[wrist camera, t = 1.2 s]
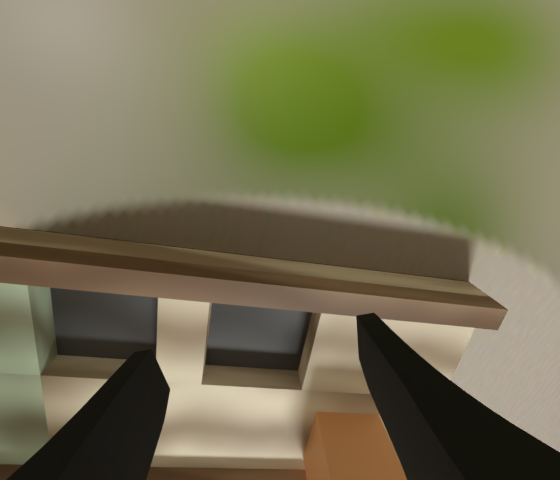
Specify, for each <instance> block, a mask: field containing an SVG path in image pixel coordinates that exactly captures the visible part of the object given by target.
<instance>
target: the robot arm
mask: <svg viewBox="0 0 560 480" xmlns="http://www.w3.org/2000/svg"><path fill="white" fill-rule="evenodd" d="M356 321H357V337H358V354H359V361H360V364H361V367H362V371H363V374H364V377H365V380H366V383H367V386H368V389H369V391H370V394H371V396H372V398H373V401H374V403H375V405H376V407H377V410H378V412H379V414H380V417H381V419H382V421H383V424H384V426H385V428H386V430H387V433H388V435H389V437H390V440H391V442H392V444H393V446H394V449H395V451H396V453H397V456H398V458H399V460H400V463H401V465H402V468H403V470H404V473H405V476H406V478H407V480H560V452H558V451H556V450H555V449H553V448H551V447H550V446H548V445H546V444H545V443H543V442H542V441H540V440H538V439H537V438H535V437H533V436H532V435H530V434H528V433H527V432H525V431H523V430H522V429H520V428H518V427H517V426H515V425H514V424H512V423H510V422H509V421H507V420H506V419H504V418H503V417H501V416H500V415H498V414H497V413H495V412H494V411H492V410H491V409H489V408H488V407H486V406H485V405H483V404H482V403H481V402H479V401H478V400H476V399H475V398H473V397H472V396H471V395H469V394H468V393H466V392H465V391H464V390H462V389H461V388H460V387H458V386H457V385H456V384H454V383H453V382H452V381H451V380H449V379H448V378H447V377H445V376H444V375H443V374H442V373H440V372H439V371H438V370H437V369H435V368H434V367H433V366H432V365H431V364H429V363H428V362H427V361H426V360H425V359H424V358H422V357H421V356H420V355H419V354H418V353H417V352H416V351H414V350H413V349H412V348H411V347H410V346H409V345H408V344H406V343H405V342H404V341H403V340H402V339H401V338H400V337H399V336H398V335H397V334H396V333H395V332H394V331H393V330H392V329H391V328H390V327H389V326H387V325H386V324H385V323H384V322H383V321H382V320H381V319H380V318H379V316H378V315H376V314H375V313H369V314H363V315H356ZM169 393H170V387H169V385H168V383H167V381H166V379H165V377H164V375H163V372H162V370H161V368H160V366H159V364H158V362H157V360H156V357H155V355H154V353H153V351H152V349H149V350H143V351H137V352H134V353H133V354H132V355H131V356H130V357H129V358H128V359H127V360H126V361H125V362H124V363H123V364H122V365H121V366H120V367H119V368H118V369H117V371H116V372H115V373H114V374H113V375H112V376H111V377H110V378H109V379H108V380H107V381H106V382H105V383H104V385H103V386H102V387H101V388H100V389H99V390H98V391H97V392H96V393H95V394H94V395H93V396H92V397H91V398H90V399H89V400H88V401H87V403H86V404H85V405H84V406H83V407H82V408H81V409H80V410H79V411H78V412H77V413H76V414H75V415H74V416H73V417H72V418H71V419H70V420H69V421H68V422H67V423H66V424H65V425H64V426H63V427H62V428H61V429H60V430H59V431H58V432H57V433H56V434H55V435H54V436H53V437H52V438H51V439H50V440H49V441H48V442H47V443H46V444H45V445H44V446H43V447H42V448H40V449H39V450H38V451H37V452H36V453H35V454H34V455H33V456H32V457H31V458H30V459H29V460H28V461H26V462H25V463H24V464H23V465H22V466H21V467H20V468H19V469H18V470H16V471H15V472H14V473H13V474H12V475H11V476H10V477H9V478H7V479H6V480H146V479H147V476H148V473H149V469H150V466H151V463H152V460H153V457H154V453H155V450H156V447H157V444H158V440H159V437H160V434H161V431H162V427H163V424H164V420H165V415H166V410H167V405H168V399H169Z"/></svg>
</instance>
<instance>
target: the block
mask: <svg viewBox="0 0 560 480" xmlns="http://www.w3.org/2000/svg"><path fill="white" fill-rule="evenodd" d="M303 459H304V466H305V472H306V479H307V480H407V478H406V476H405V473H404V470H403V468H402V465H401V463H400V461H399V458H398V456H397V454H396V452H395V449H394V447H393V445H392V442H391V440H390V438H389V436H388V433H387V431H386V429H385V427H384V424H383V422H382V420H381V417H380V415H378V414H356V413H335V412H316V414H315V418H314V421H313V425H312V428H311V432H310V435H309V439H308V442H307V446H306V449H305V452H304V456H303Z"/></svg>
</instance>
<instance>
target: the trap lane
mask: <svg viewBox="0 0 560 480" xmlns="http://www.w3.org/2000/svg"><path fill="white" fill-rule="evenodd" d="M507 311H508V309H506V308H505V307H503V306H502V305H501V304H499V303H498V302H496V301H495V300H494V299H492V298H491V297H489V296H488V295H487V294H485V293H484V292H482V291H481V290H480V289H478V288H477V287H476V286H474V285H473V284H471V283H470V282H465V281H457V280H449V279H440V278H432V277H423V276H415V275H406V274H398V273H390V272H381V271H373V270H364V269H356V268H348V267H339V266H331V265H322V264H314V263H305V262H297V261H289V260H280V259H272V258H263V257H255V256H246V255H238V254H230V253H221V252H213V251H204V250H196V249H187V248H179V247H171V246H162V245H154V244H145V243H137V242H128V241H120V240H112V239H103V238H95V237H86V236H78V235H69V234H61V233H53V232H44V231H36V230H27V229H19V228H10V227H2V226H0V480H6V479H7V478H9V477H10V476H11V475H12V474H13V473H14V472H15V471H16V470H18V469H19V468H20V467H21V466H22V465H23V464H24V463H25V462H26V461H28V460H29V459H30V458H31V457H32V456H33V455H34V454H35V453H36V452H37V451H38V450H39V449H40V448H42V447H43V446H44V445H45V444H46V443H47V442H48V441H49V440H50V439H51V438H52V437H53V436H54V435H55V434H56V433H57V432H58V431H59V430H60V429H61V428H62V427H63V426H64V425H65V424H66V423H67V422H68V421H69V420H70V419H71V418H72V417H73V416H74V415H75V414H76V413H77V412H78V411H79V410H80V409H81V408H82V407H83V406H84V405H85V404H86V403H87V401H88V400H89V399H90V398H91V397H92V396H93V395H94V394H95V393H96V392H97V391H98V390H99V389H100V388H101V387H102V386H103V385H104V383H105V382H106V381H107V380H108V379H109V378H110V377H111V376H112V375H113V374H114V373H115V372H116V371H117V369H118V368H119V367H120V366H121V365H122V364H123V363H124V362H125V361H126V360H127V359H128V358H129V357H130V356H131V355H132V354H133V353H134V352H137V351H143V350H149V349H152V351H153V353H154V355H155V357H156V360H157V362H158V364H159V366H160V368H161V370H162V372H163V375H164V377H165V379H166V381H167V383H168V385H169V387H170V393H169V399H168V405H167V410H166V415H165V420H164V424H163V427H162V431H161V434H160V437H159V440H158V444H157V447H156V450H155V453H154V457H153V460H152V463H151V466H150V469H149V473H148V476H147V479H146V480H307V479H306V472H305V466H304V459H303V456H304V452H305V449H306V446H307V442H308V439H309V435H310V432H311V428H312V425H313V421H314V418H315V414H316V412H335V413H356V414H378V415H380V414H379V412H378V410H377V407H376V405H375V403H374V401H373V398H372V396H371V394H370V391H369V389H368V386H367V383H366V380H365V377H364V374H363V371H362V367H361V364H360V361H359V354H358V337H357V321H356V315H363V314H369V313H375V314H376V315H378V316H379V318H380V319H381V320H382V321H383V322H384V323H385V324H386V325H387V326H389V327H390V328H391V329H392V330H393V331H394V332H395V333H396V334H397V335H398V336H399V337H400V338H401V339H402V340H403V341H404V342H405V343H406V344H408V345H409V346H410V347H411V348H412V349H413V350H414V351H416V352H417V353H418V354H419V355H420V356H421V357H422V358H424V359H425V360H426V361H427V362H428V363H429V364H431V365H432V366H433V367H434V368H435V369H437V370H438V371H439V372H440V373H442V374H443V375H444V376H445V377H447V378H448V379H449V380H451V378H452V375H453V373H454V371H455V369H456V367H457V365H458V363H459V361H460V359H461V356H462V354H463V352H464V350H465V348H466V346H467V344H468V342H469V340H470V337H471V335H472V333H473V331H474V329H475V328H482V329H493V330H498V329H499V327H500V325H501V323H502V321H503V319H504V317H505V315H506V313H507ZM381 420H382V419H381ZM382 422H383V421H382ZM384 427H385V426H384ZM385 429H386V428H385ZM386 431H387V430H386ZM388 436H389V435H388ZM389 438H390V437H389ZM392 445H393V444H392ZM393 447H394V446H393ZM395 452H396V451H395ZM396 454H397V453H396ZM399 461H400V460H399Z"/></svg>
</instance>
